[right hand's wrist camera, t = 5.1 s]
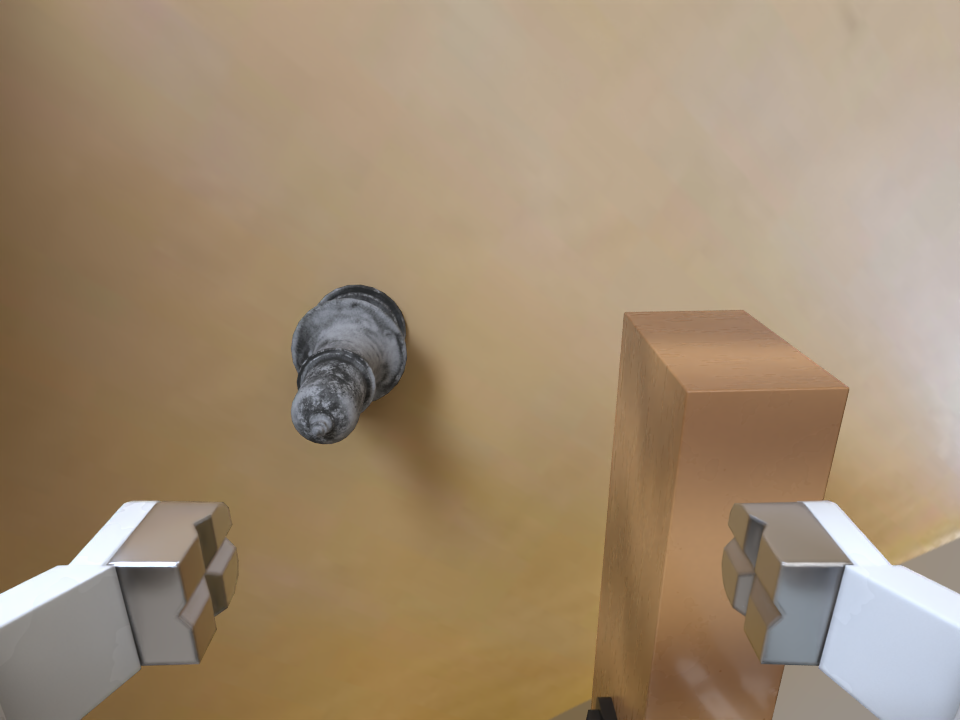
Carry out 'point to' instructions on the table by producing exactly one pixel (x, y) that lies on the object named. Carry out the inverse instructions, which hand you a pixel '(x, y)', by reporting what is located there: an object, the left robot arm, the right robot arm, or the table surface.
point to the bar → (700, 505)
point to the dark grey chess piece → (345, 360)
